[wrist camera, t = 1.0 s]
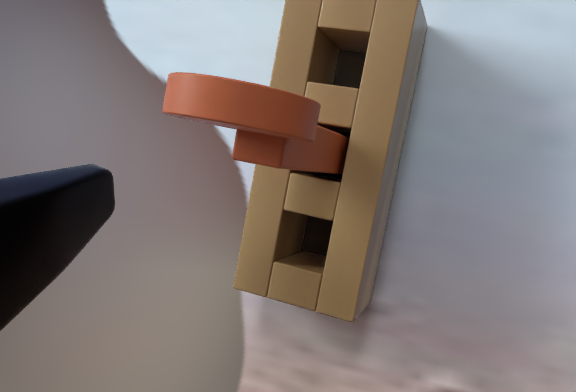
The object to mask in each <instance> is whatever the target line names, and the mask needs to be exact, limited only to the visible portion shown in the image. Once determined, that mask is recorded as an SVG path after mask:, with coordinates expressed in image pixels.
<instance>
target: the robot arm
mask: <svg viewBox="0 0 576 392" xmlns="http://www.w3.org/2000/svg"><path fill="white" fill-rule="evenodd" d="M114 207H115V199H114V183H113V176H112V173H111V172H110V171H109V170H108V169H105V168H102V167H100V166H97V165H94V164H88V165H81V166H75V167H70V168H63V169H57V170H51V171H44V172H38V173H32V174H26V175H20V176H14V177H8V178H1V179H0V331H1V330H2V329H3V328H4V327H5V326H6V325H7V324H8V323H9V322H10V321H11V320H12V319H14V317H16V315H18V314H19V313H20V312H21V311H22V310H23V309H24V308H25V307H26V306H27V305H28V304H29V303H30V302H31V301H32V300H34V299H35V298H36V297H37V296H38V295H39V294H40V293H41V292H42V291H43V290H44V289H45V288H46V287H47V286H48V285H49V284H50V283H51V282H52V281H53V280H55V279H56V278H57V277H58V276H59V275H60V274H61V272H63V270H65V268H66V267H67V266H68V265H69V264H70V263H71V262H72V261H73V259H74V258H75V257H76V256H77V255H78V254H79V253H80V251H81V250H82V249H83V248H84V247H85V246H86V244H87V243H88V242H89V241H90V240H91V239H92V237H93V236H94V235H95V234H96V233H97V232H98V230H99V229H100V228H101V227H102V226H103V225H104V223H105V222H106V221H107V220H108V219H109V217H110V216H111V215H112V213H113V211H114Z"/></svg>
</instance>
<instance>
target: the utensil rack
mask: <svg viewBox="0 0 576 392" xmlns="http://www.w3.org/2000/svg"><path fill="white" fill-rule="evenodd" d="M426 29H427V22H426V19H425V15H424V11H423V7H422V4H421V0H285V5H284V11H283V16H282V22H281V27H280V33H279V38H278V44H277V49H276V55H275V60H274V66H273V71H272V77H271V82H270V87H273V88H277V89H281V90H285V91H288V92H292V93H295V94H299V95H302V96H305V97H308V98H311V99H313V100H315V101H317V102H318V103H320V105H321V107H320V113H319V118H318V123H317V125H319V126H321V127H324V128H326V129H329V130H332V131H338V132H343V133H349V134H350V139H349V144H348V149H347V155H346V160H345V165H344V170H343V175H342V179H337V178H332V177H327V176H322V175H316V172H311V171H300V170H289V169H278V168H273V167H268V166H263V165H258V164H256V165H255V170H254V176H253V181H252V187H251V192H250V198H249V203H248V209H247V214H246V220H245V225H244V231H243V237H242V242H241V247H240V253H239V258H238V264H237V269H236V275H235V280H234V286H233V287H234V288H235V289H238V290H242V291H245V292H249V293H252V294H256V295H259V296H263V297H268V298H270V299H274V300H277V301H281V302H284V303H288V304H291V305H295V306H298V307H302V308H305V309H309V310H312V311H316V312H318V313H322V314H325V315H329V316H332V317H336V318H339V319H343V320H346V321H350V322H353V321H354V320H355V319H356V318H357V317H358V316H359V314H360V313H361V312H362V311H363V310H364V308H365V307H366V306H367V305H368V304H369V303H370V301H371V297H372V292H373V288H374V283H375V278H376V273H377V268H378V263H379V258H380V253H381V249H382V244H383V239H384V234H385V229H386V224H387V219H388V214H389V210H390V205H391V200H392V195H393V190H394V185H395V180H396V175H397V171H398V166H399V161H400V156H401V151H402V146H403V141H404V136H405V132H406V127H407V122H408V117H409V112H410V107H411V102H412V97H413V93H414V88H415V83H416V78H417V73H418V68H419V63H420V58H421V54H422V49H423V44H424V39H425V34H426ZM340 50H343V51H351V52H360V53H366V58H365V63H364V68H363V73H362V78H361V83H360V88H359V89H358V88H351V87H344V86H337V85H333V82H334V77H335V72H336V67H337V61H338V56H339V51H340ZM308 216H312V217H316V218H320V219H325V220H329V221H333V226H332V231H331V236H330V241H329V246H328V251H327V256H322V255H318V254H314V253H310V252H306V251H301V249H302V244H303V239H304V233H305V228H306V223H307V218H308Z"/></svg>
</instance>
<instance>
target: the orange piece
mask: <svg viewBox="0 0 576 392" xmlns="http://www.w3.org/2000/svg"><path fill="white" fill-rule="evenodd" d="M320 107H321V105H320V103H318V102H317V101H315V100H313V99H311V98H308V97H305V96H302V95H299V94H295V93H292V92H288V91H285V90H281V89H277V88H273V87H268V86H264V85H260V84H255V83H250V82H245V81H240V80H235V79H229V78H223V77H217V76H211V75H204V74H195V73H182V72H176V73H170V74H169V75H168V80H167V86H166V92H165V98H164V104H163V111H162V112H163V113H164V114H167V115H171V116H175V117H179V118H184V119H188V120H193V121H197V122H202V123H207V124H212V125H217V126H222V127H227V128H232V129H237V132H236V137H235V143H234V149H233V154H232V158H233V159H234V160H238V161H243V162H248V163H253V164H258V165H263V166H268V167H273V168H278V169H289V170H300V171H311V172H323V173H334V174H343V170H344V165H345V160H346V155H347V149H348V144H349V139H350V138H349V137H346V136H344V135H341V134H339V133H336V132H334V131H331V130H329V129H326V128H324V127H321V126H319V125H317V123H318V118H319V113H320Z"/></svg>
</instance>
